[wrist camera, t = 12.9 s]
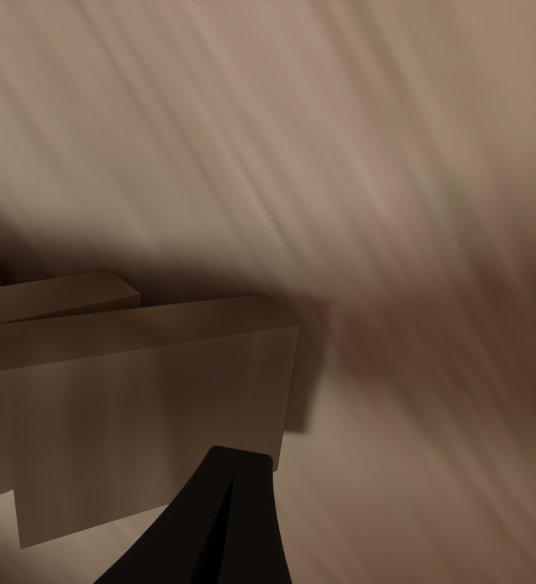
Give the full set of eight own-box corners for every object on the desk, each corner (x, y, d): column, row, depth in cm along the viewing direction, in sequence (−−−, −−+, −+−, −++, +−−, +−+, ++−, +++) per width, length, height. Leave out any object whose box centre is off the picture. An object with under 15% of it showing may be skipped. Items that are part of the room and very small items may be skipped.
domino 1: (300, 324, 13) (-1, 371, 10) (276, 470, 15) (20, 548, 12) (264, 293, 15) (-5, 324, 11) (248, 429, 17) (14, 488, 14)
